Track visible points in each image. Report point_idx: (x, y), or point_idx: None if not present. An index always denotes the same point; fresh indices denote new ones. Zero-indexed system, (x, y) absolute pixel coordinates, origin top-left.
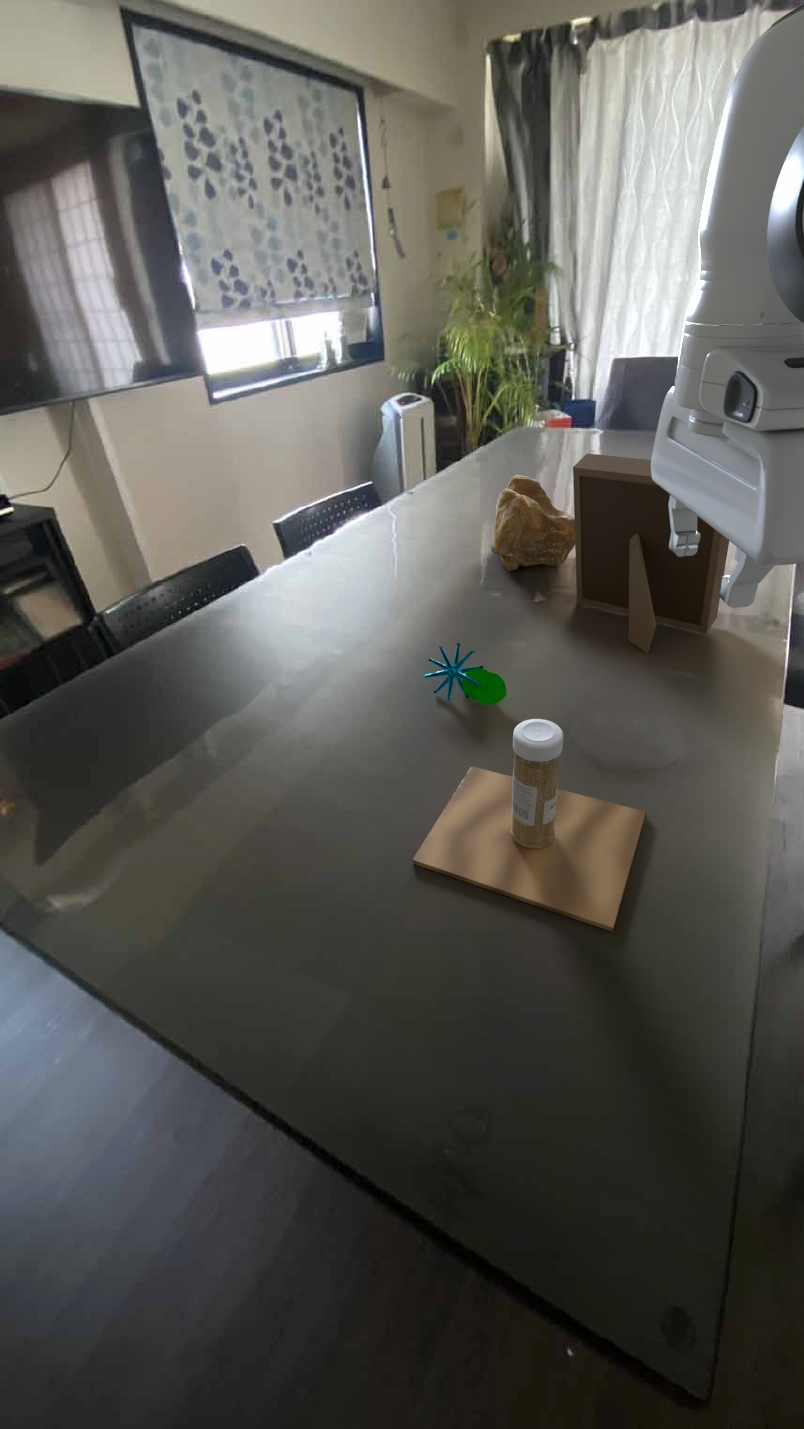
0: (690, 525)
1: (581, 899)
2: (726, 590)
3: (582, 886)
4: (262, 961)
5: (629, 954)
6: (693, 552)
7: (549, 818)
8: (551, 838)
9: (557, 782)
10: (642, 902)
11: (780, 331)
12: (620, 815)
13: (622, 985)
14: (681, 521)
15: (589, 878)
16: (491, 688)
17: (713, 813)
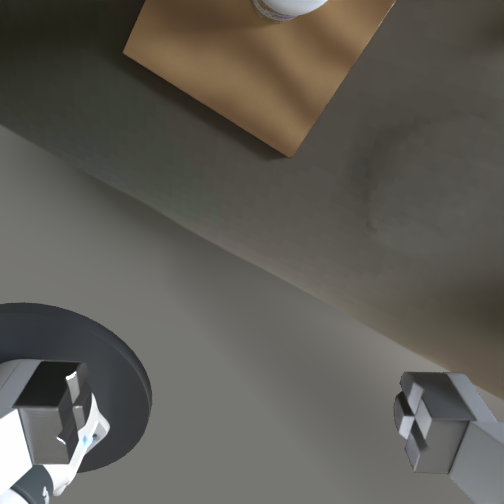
0: (470, 476)
1: (163, 27)
2: (26, 383)
3: (183, 35)
4: None
5: (96, 61)
6: (397, 414)
7: (253, 1)
8: (258, 13)
9: (271, 12)
10: (163, 103)
11: None
12: (290, 125)
13: (58, 39)
14: (496, 468)
15: (194, 48)
16: None
17: (279, 230)
